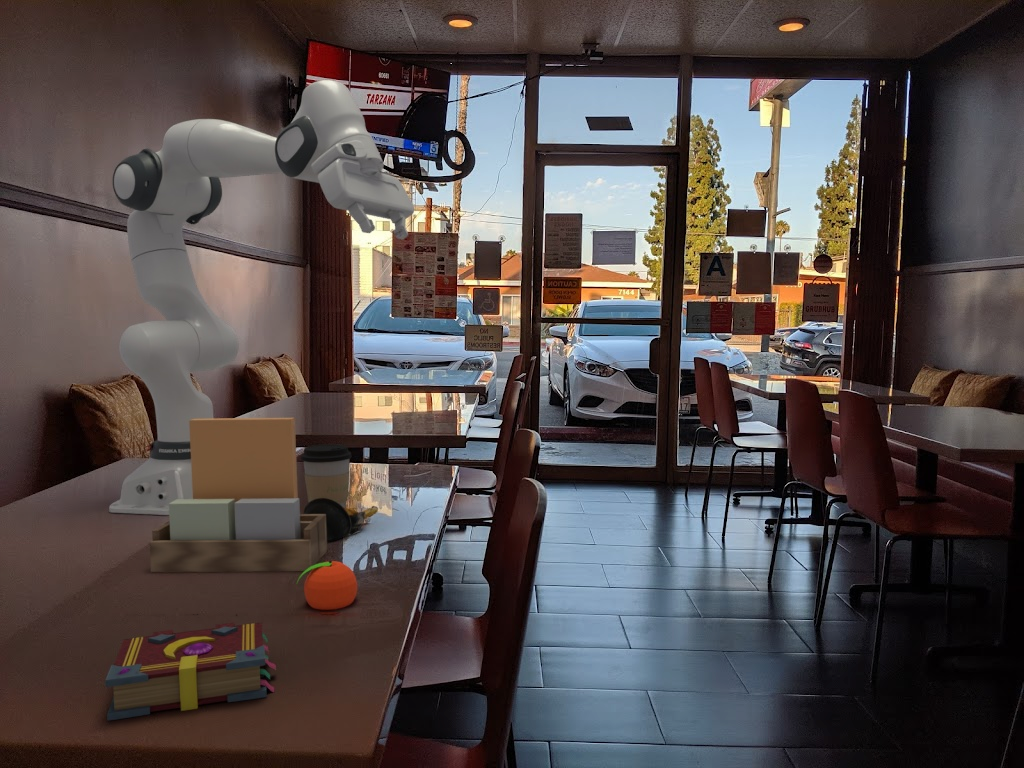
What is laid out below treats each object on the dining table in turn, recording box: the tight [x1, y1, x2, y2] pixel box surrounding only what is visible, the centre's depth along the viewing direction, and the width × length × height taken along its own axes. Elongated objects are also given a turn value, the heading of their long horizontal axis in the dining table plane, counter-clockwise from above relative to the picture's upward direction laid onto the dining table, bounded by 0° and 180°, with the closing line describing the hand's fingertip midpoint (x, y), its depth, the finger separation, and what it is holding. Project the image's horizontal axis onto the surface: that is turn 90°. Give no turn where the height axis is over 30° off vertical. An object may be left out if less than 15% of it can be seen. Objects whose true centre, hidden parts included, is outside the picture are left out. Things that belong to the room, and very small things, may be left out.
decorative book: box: [104, 622, 277, 722], centre depth 87 cm, size 11×16×5 cm
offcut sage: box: [168, 499, 236, 540], centre depth 124 cm, size 9×3×10 cm, turn 89°
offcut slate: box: [234, 497, 301, 540], centre depth 124 cm, size 9×3×10 cm, turn 89°
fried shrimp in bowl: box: [303, 498, 379, 543], centre depth 144 cm, size 9×11×18 cm
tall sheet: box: [189, 417, 299, 503], centre depth 128 cm, size 16×2×22 cm, turn 89°
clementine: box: [296, 560, 358, 616], centre depth 107 cm, size 8×7×7 cm
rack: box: [149, 513, 328, 573], centre depth 126 cm, size 24×10×8 cm, turn 89°
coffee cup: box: [299, 443, 353, 508], centre depth 152 cm, size 9×9×15 cm
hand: (386, 234), depth 138 cm, fingers open, 8 cm apart
